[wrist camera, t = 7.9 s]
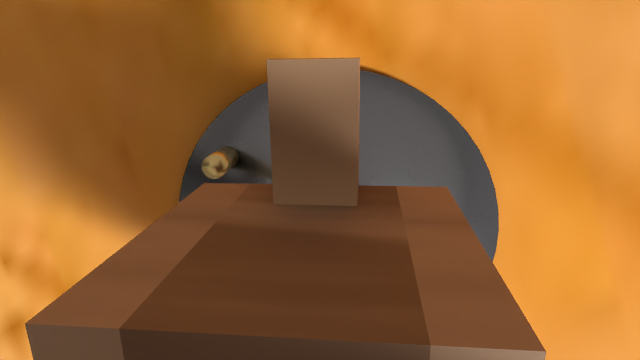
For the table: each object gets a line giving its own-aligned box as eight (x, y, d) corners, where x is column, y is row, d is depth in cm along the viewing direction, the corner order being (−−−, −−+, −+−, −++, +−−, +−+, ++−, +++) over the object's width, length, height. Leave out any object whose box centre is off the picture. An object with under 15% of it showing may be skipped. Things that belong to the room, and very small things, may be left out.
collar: (432, 393, 16) (492, 704, 8) (222, 379, 17) (101, 650, 9) (455, 56, 13) (590, 58, 5) (192, 60, 13) (-36, 67, 6)
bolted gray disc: (541, 305, 21) (675, 496, 12) (268, 394, 24) (209, 600, 15) (421, 4, 18) (478, -49, 9) (125, 153, 21) (-59, 228, 12)
